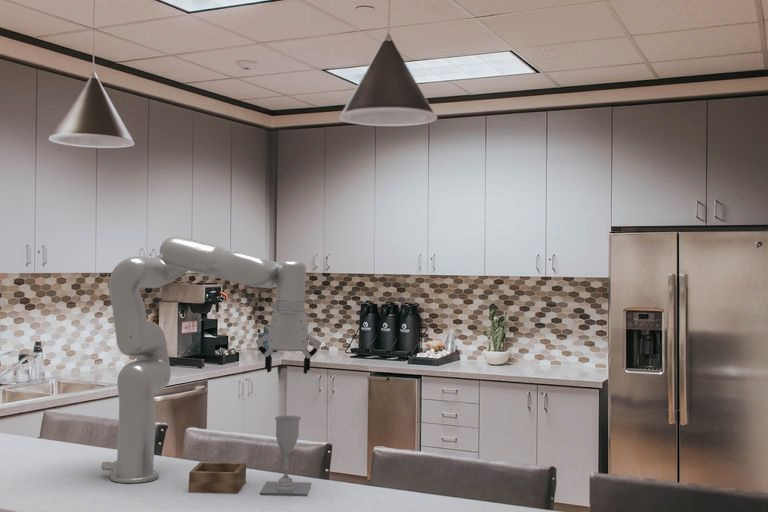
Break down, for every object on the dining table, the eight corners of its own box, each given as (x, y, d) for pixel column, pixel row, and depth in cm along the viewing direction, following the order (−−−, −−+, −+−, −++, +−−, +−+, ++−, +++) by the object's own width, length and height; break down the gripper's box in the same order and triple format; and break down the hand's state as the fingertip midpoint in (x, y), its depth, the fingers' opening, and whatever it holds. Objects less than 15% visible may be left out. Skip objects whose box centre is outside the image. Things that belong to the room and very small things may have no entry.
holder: (188, 492, 196) (189, 472, 196) (199, 480, 208) (200, 462, 208) (237, 493, 196) (238, 473, 196) (245, 482, 208) (246, 463, 208)
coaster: (259, 494, 195) (259, 492, 195) (266, 483, 207) (266, 481, 207) (306, 496, 195) (307, 493, 195) (311, 484, 207) (311, 482, 207)
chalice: (293, 491, 197) (296, 420, 198) (268, 489, 198) (270, 419, 199) (302, 485, 204) (304, 416, 205) (277, 483, 205) (280, 415, 206)
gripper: (255, 306, 201) (252, 372, 200) (321, 309, 201) (318, 375, 200) (259, 306, 208) (257, 370, 208) (323, 308, 208) (321, 372, 207)
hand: (287, 372), depth 204 cm, fingers open, 9 cm apart
